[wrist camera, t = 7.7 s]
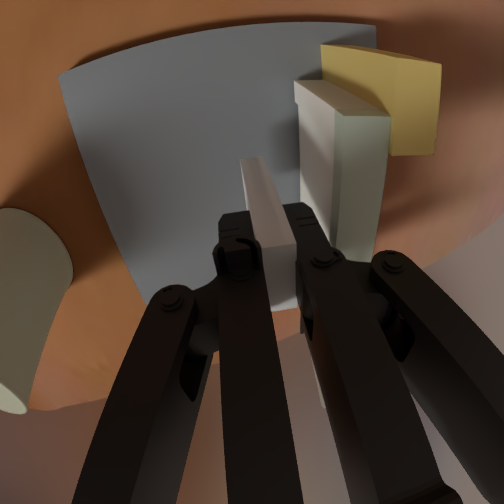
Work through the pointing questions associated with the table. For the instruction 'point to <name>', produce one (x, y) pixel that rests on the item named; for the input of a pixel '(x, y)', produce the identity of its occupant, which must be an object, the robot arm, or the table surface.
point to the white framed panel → (342, 164)
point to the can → (27, 300)
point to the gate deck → (222, 129)
